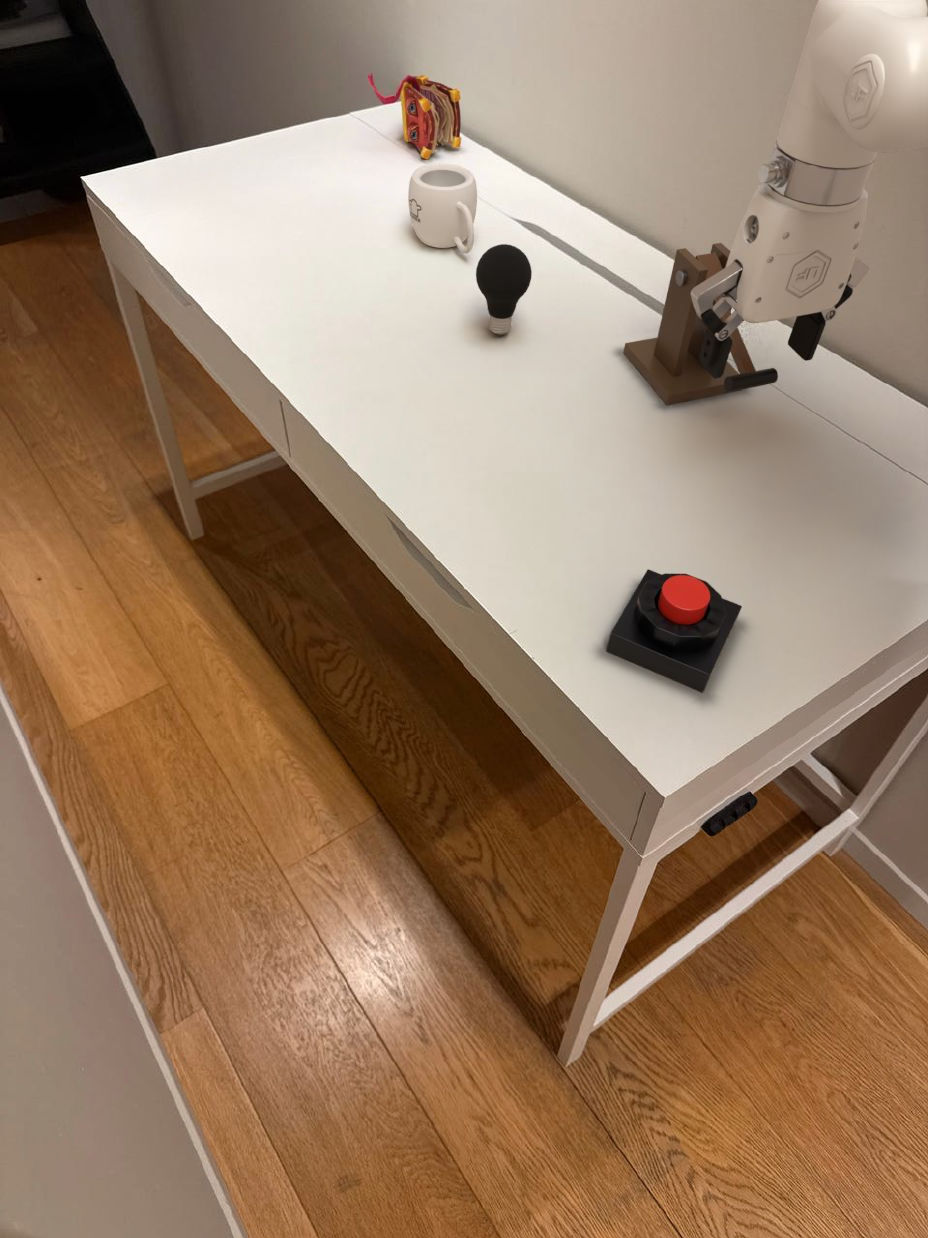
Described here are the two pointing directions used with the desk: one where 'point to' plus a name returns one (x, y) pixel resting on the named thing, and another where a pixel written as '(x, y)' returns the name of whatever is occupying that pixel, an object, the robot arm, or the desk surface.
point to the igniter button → (683, 599)
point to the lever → (738, 344)
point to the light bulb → (503, 283)
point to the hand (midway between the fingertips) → (755, 361)
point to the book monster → (427, 112)
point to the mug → (443, 205)
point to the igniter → (672, 634)
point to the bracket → (680, 338)
